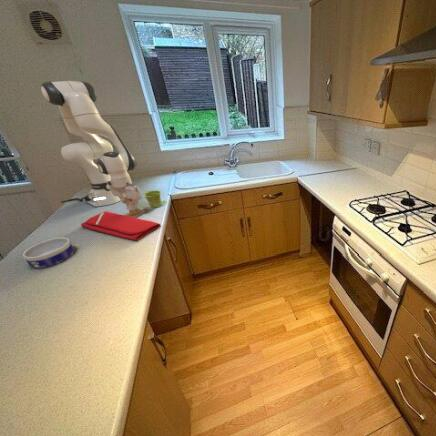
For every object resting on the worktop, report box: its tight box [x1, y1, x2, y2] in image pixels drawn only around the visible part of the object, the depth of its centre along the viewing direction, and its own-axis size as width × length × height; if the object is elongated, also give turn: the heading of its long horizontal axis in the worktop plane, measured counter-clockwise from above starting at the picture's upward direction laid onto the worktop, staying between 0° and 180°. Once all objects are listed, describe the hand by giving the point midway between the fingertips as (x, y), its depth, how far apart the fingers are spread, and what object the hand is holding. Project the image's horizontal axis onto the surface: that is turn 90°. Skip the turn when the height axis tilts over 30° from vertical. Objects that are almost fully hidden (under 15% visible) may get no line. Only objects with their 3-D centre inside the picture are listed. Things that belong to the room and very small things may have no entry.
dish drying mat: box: [80, 210, 161, 241], centre depth 128 cm, size 16×41×4 cm, turn 69°
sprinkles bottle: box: [122, 194, 139, 215], centre depth 140 cm, size 5×5×14 cm
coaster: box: [123, 209, 147, 218], centre depth 143 cm, size 9×9×1 cm
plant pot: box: [143, 190, 163, 209], centre depth 150 cm, size 9×9×9 cm
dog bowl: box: [22, 237, 76, 270], centre depth 106 cm, size 15×15×6 cm
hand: (130, 204), depth 140 cm, fingers open, 8 cm apart
